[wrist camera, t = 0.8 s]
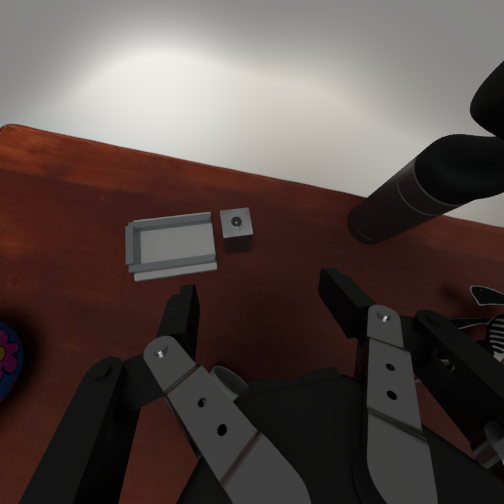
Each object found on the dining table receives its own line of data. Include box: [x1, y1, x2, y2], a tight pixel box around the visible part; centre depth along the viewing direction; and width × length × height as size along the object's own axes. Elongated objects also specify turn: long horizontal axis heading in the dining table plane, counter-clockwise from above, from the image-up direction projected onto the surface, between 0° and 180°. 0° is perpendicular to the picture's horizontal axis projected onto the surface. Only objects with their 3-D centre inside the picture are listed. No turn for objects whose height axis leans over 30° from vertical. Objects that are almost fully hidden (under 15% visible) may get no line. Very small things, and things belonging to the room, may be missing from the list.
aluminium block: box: [220, 208, 253, 254], centre depth 36 cm, size 5×5×10 cm
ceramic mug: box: [209, 366, 249, 402], centre depth 30 cm, size 11×8×8 cm
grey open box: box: [126, 212, 218, 282], centre depth 38 cm, size 15×12×4 cm
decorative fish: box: [415, 286, 504, 382], centre depth 32 cm, size 16×26×15 cm, turn 121°
